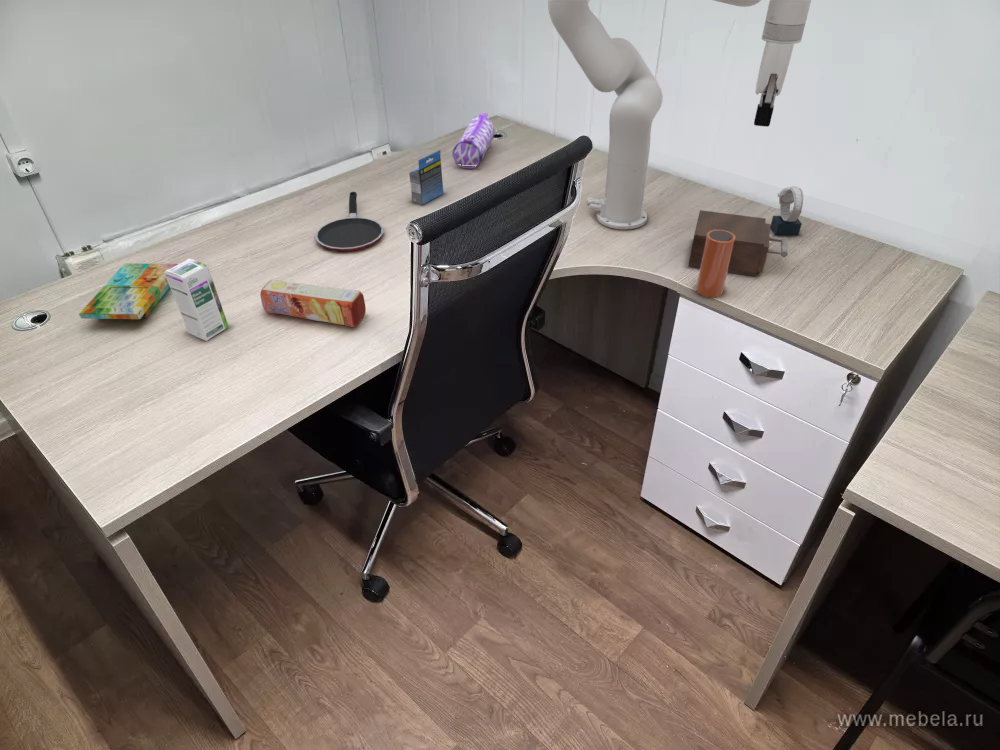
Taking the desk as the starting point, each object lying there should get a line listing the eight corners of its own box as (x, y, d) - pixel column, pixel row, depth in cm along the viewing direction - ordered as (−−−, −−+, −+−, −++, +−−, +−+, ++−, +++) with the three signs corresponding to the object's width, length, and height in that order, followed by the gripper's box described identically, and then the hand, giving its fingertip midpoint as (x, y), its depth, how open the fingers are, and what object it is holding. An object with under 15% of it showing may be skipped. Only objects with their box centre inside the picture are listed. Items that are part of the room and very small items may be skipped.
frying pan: (322, 204, 180) (319, 192, 178) (383, 200, 182) (382, 188, 180) (313, 256, 159) (311, 243, 156) (384, 250, 160) (382, 238, 158)
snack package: (262, 316, 139) (254, 288, 135) (279, 299, 144) (272, 271, 140) (355, 332, 134) (350, 304, 130) (369, 314, 139) (365, 286, 135)
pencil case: (482, 172, 196) (481, 139, 190) (451, 170, 197) (449, 137, 191) (495, 144, 212) (495, 113, 206) (466, 142, 214) (465, 112, 208)
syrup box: (206, 342, 133) (183, 278, 123) (186, 333, 135) (162, 269, 126) (229, 327, 136) (208, 264, 127) (209, 319, 139) (188, 256, 130)
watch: (789, 223, 168) (801, 181, 161) (800, 238, 162) (813, 195, 155) (767, 223, 168) (778, 181, 162) (777, 239, 162) (789, 195, 155)
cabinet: (757, 250, 158) (765, 218, 153) (755, 276, 149) (764, 244, 144) (693, 241, 162) (699, 210, 157) (688, 266, 153) (694, 234, 148)
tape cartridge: (433, 190, 186) (429, 146, 178) (444, 193, 184) (441, 149, 176) (411, 202, 181) (407, 157, 173) (422, 205, 179) (418, 160, 171)
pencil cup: (694, 295, 144) (705, 240, 135) (697, 282, 148) (708, 227, 139) (721, 299, 142) (734, 244, 134) (723, 286, 146) (736, 231, 138)
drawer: (783, 251, 156) (790, 226, 152) (782, 275, 147) (790, 250, 144) (704, 240, 160) (709, 216, 156) (699, 263, 152) (704, 238, 148)
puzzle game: (176, 260, 148) (135, 310, 133) (183, 278, 151) (143, 330, 136) (124, 259, 149) (77, 310, 133) (132, 278, 152) (86, 329, 136)
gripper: (764, 22, 141) (745, 112, 152) (762, 39, 130) (741, 135, 141) (802, 24, 139) (780, 115, 150) (803, 42, 128) (779, 138, 139)
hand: (761, 124), depth 146 cm, fingers closed
